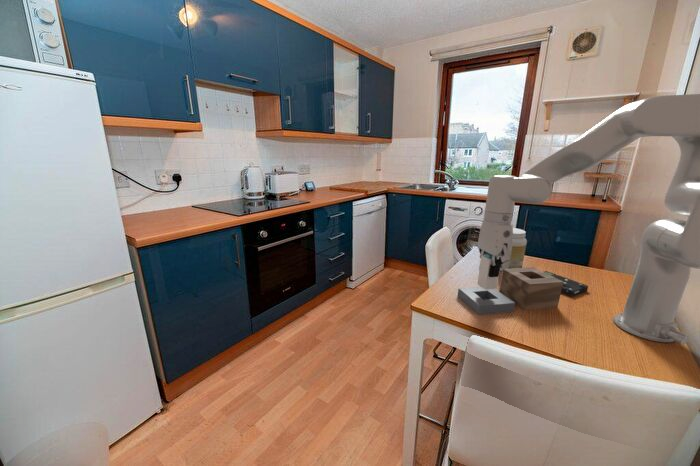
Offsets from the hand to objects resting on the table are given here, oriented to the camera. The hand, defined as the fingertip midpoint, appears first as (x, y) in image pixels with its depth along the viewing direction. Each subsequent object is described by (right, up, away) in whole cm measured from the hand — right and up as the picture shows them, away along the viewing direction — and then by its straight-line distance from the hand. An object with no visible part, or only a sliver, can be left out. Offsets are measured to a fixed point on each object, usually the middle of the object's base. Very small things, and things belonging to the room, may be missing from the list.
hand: (488, 272), depth 91 cm
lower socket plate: (0, -10, +3) cm, 11 cm away
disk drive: (+34, -8, +17) cm, 39 cm away
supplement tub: (+23, -3, +32) cm, 40 cm away
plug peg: (0, -4, +1) cm, 5 cm away
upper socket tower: (+16, -10, +6) cm, 19 cm away
